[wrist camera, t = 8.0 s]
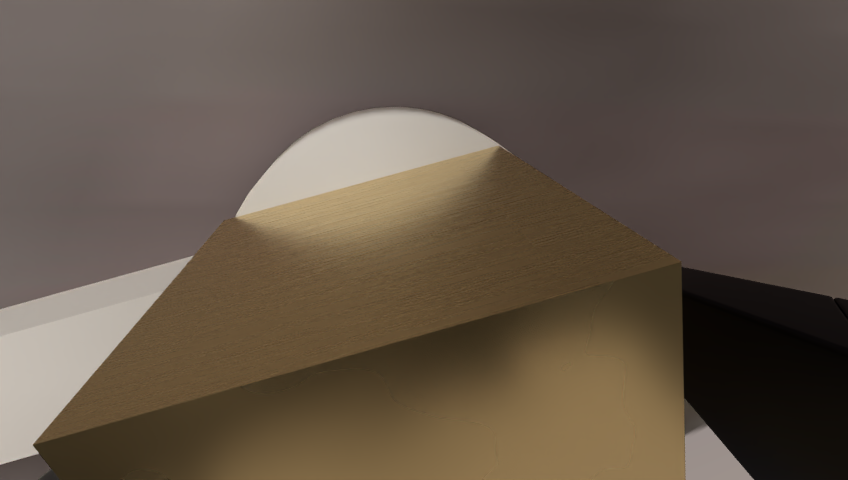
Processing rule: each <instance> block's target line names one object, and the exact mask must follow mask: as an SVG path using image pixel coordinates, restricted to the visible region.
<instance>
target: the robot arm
mask: <svg viewBox="0 0 848 480" xmlns="http://www.w3.org/2000/svg"><path fill="white" fill-rule="evenodd" d="M681 270H682V323H683V376H684V398H685V399H686V400H687V401H688V403H689V404H690V405H691V406H692V407H693V408H694V410H695V411H696V412H697V413H698V414H699V415H700V417H701V418H702V419H703V420H704V421H705V423H706V424H707V425H708V426H709V427H710V428H711V430H712V431H713V432H714V433H715V434H716V435H717V437H718V438H719V439H720V440H721V441H722V443H723V444H724V445H725V446H726V447H727V448H728V450H729V451H730V452H731V453H732V454H733V456H734V457H735V458H736V459H737V460H738V461H739V463H740V464H741V465H742V466H743V467H744V468H745V470H746V471H747V472H748V473H749V474H750V476H751V477H752V478H753V479H754V480H848V300H846V299H841V298H835V299H834V300H833V298H832V297H830V296H825V295H820V294H815V293H810V292H805V291H800V290H795V289H790V288H785V287H780V286H775V285H770V284H765V283H760V282H755V281H750V280H745V279H740V278H735V277H730V276H725V275H720V274H715V273H710V272H704V271H699V270H694V269H689V268H684V267H681ZM38 480H60V479H59V478H58V476H57V475H56V474H55V473H54V471H53V470H52V469H51V470H50V471H48V472H47V473H46V474H44V475H43V476H42V477H40V478H39V479H38Z"/></svg>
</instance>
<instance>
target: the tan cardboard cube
mask: <svg viewBox="0 0 848 480" xmlns="http://www.w3.org/2000/svg"><path fill="white" fill-rule="evenodd" d="M33 446H34V448H35V449H36V450H37V451H38V453H39V454H40V455H41V456H42V458H43V459H44V460H45V461H46V463H47V464H48V465H49V466H50V468H51V469H52V470H53V471H54V473H55V474H56V475H57V476H58V478H59V479H60V480H685V429H684V376H683V323H682V270H681V261H679V260H678V259H676V258H675V257H673V256H672V255H670V254H668V253H667V252H665V251H664V250H662V249H661V248H659V247H657V246H656V245H654V244H653V243H651V242H650V241H648V240H646V239H645V238H643V237H642V236H640V235H639V234H637V233H635V232H634V231H632V230H631V229H629V228H628V227H626V226H624V225H623V224H621V223H620V222H618V221H617V220H615V219H613V218H612V217H610V216H609V215H607V214H606V213H604V212H602V211H601V210H599V209H598V208H596V207H595V206H593V205H591V204H590V203H588V202H587V201H585V200H584V199H582V198H580V197H579V196H577V195H576V194H574V193H573V192H571V191H569V190H568V189H566V188H565V187H563V186H562V185H560V184H558V183H557V182H555V181H554V180H552V179H551V178H549V177H547V176H546V175H544V174H543V173H541V172H540V171H538V170H536V169H535V168H533V167H532V166H530V165H529V164H527V163H525V162H524V161H522V160H521V159H519V158H518V157H516V156H514V155H513V154H511V153H510V152H508V151H507V150H505V149H503V148H502V147H500V146H495V147H491V148H488V149H484V150H480V151H477V152H473V153H469V154H466V155H462V156H458V157H455V158H451V159H447V160H444V161H440V162H436V163H433V164H429V165H425V166H422V167H418V168H414V169H411V170H407V171H403V172H400V173H396V174H392V175H389V176H385V177H381V178H378V179H374V180H370V181H367V182H363V183H359V184H356V185H352V186H348V187H345V188H341V189H337V190H334V191H330V192H326V193H323V194H319V195H315V196H312V197H308V198H304V199H301V200H297V201H293V202H290V203H286V204H282V205H279V206H275V207H272V208H268V209H264V210H261V211H257V212H253V213H250V214H246V215H242V216H239V217H235V218H231V219H228V220H224V221H223V222H222V224H221V225H220V226H219V227H218V228H217V229H216V231H215V232H214V233H213V234H212V235H211V236H210V238H209V239H208V240H207V241H206V242H205V243H204V245H203V246H202V247H201V248H200V249H199V251H198V252H197V253H196V254H195V255H194V256H193V258H192V259H191V260H190V261H189V262H188V263H187V265H186V266H185V267H184V268H183V269H182V270H181V272H180V273H179V274H178V275H177V276H176V277H175V279H174V280H173V281H172V282H171V283H170V284H169V286H168V287H167V288H166V289H165V290H164V292H163V293H162V294H161V295H160V296H159V297H158V299H157V300H156V301H155V302H154V303H153V304H152V306H151V307H150V308H149V309H148V310H147V311H146V313H145V314H144V315H143V316H142V317H141V318H140V320H139V321H138V322H137V323H136V324H135V325H134V327H133V328H132V329H131V330H130V331H129V333H128V334H127V335H126V336H125V337H124V338H123V340H122V341H121V342H120V343H119V344H118V345H117V347H116V348H115V349H114V350H113V351H112V352H111V354H110V355H109V356H108V357H107V358H106V359H105V361H104V362H103V363H102V364H101V365H100V366H99V368H98V369H97V370H96V371H95V372H94V374H93V375H92V376H91V377H90V378H89V379H88V381H87V382H86V383H85V384H84V385H83V386H82V388H81V389H80V390H79V391H78V392H77V393H76V395H75V396H74V397H73V398H72V399H71V400H70V402H69V403H68V404H67V405H66V406H65V407H64V409H63V410H62V411H61V412H60V413H59V414H58V416H57V417H56V418H55V419H54V420H53V422H52V423H51V424H50V425H49V426H48V427H47V429H46V430H45V431H44V432H43V433H42V434H41V436H40V437H39V438H38V439H37V440H36V441H35V443H34V444H33Z"/></svg>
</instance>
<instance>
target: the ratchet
mask: <svg viewBox="0 0 848 480" xmlns="http://www.w3.org/2000/svg"><path fill="white" fill-rule="evenodd" d="M495 146H500V147H502V146H501V145H499V144H498V143H497V142H495V141H494V140H492V139H490V138H489V137H487V136H485V135H484V134H482V133H481V132H479V131H477V130H476V129H474V128H472V127H470V126H468V125H467V124H465V123H463V122H461V121H459V120H457V119H454V118H451V117H449V116H446V115H443V114H441V113H438V112H433V111H428V110H424V109H419V108H409V107H396V106H395V107H379V108H370V109H365V110H360V111H355V112H351V113H348V114H345V115H343V116H340V117H337V118H334V119H331V120H329V121H327V122H325V123H323V124H321V125H319V126H318V127H316V128H314V129H312V130H310V131H309V132H308V133H306V134H305V135H303V136H302V137H300V138H299V139H298V140H296V141H295V142H294V143H293V144H292V145H290V146H289V147H288V148H287V149H286V150H285V151H284V152H283V153H282V154H281V155H280V156H279V157H278V158H277V159H276V161H275V162H274V163H273V164H272V165H271V166H270V168H269V169H268V170H267V171H266V172H265V173H264V175H263V176H262V177H261V178H260V180H259V181H258V182H257V183H256V185H255V186H254V187H253V188H252V190H251V191H250V192H249V194H248V195H247V197H246V199H245V200H244V202H243V204H242V206H241V207H240V209H239V211H238V212H237V214H236V217H239V216H242V215H246V214H250V213H253V212H257V211H261V210H264V209H268V208H272V207H275V206H279V205H282V204H286V203H290V202H293V201H297V200H301V199H304V198H308V197H312V196H315V195H319V194H323V193H326V192H330V191H334V190H337V189H341V188H345V187H348V186H352V185H356V184H359V183H363V182H367V181H370V180H374V179H378V178H381V177H385V176H389V175H392V174H396V173H400V172H403V171H407V170H411V169H414V168H418V167H422V166H425V165H429V164H433V163H436V162H440V161H444V160H447V159H451V158H455V157H458V156H462V155H466V154H469V153H473V152H477V151H480V150H484V149H488V148H491V147H495ZM502 148H503V149H505V148H504V147H502ZM505 150H506V149H505ZM507 151H508V150H507ZM508 152H509V151H508ZM511 154H512V153H511ZM192 258H193V256H191V257H188V258H184V259H180V260H177V261H173V262H170V263H166V264H162V265H159V266H155V267H151V268H148V269H144V270H141V271H137V272H133V273H130V274H126V275H122V276H119V277H115V278H112V279H108V280H104V281H101V282H97V283H94V284H90V285H86V286H83V287H79V288H75V289H72V290H68V291H65V292H61V293H57V294H54V295H50V296H47V297H43V298H39V299H36V300H32V301H28V302H25V303H21V304H18V305H14V306H10V307H7V308H3V309H0V465H1V464H4V463H8V462H11V461H15V460H18V459H22V458H25V457H29V456H32V455H36V454H39V453H38V451H37V450H36V449H35V448H34V446H33V444H34V443H35V441H36V440H37V439H38V438H39V437H40V436H41V434H42V433H43V432H44V431H45V430H46V429H47V427H48V426H49V425H50V424H51V423H52V422H53V420H54V419H55V418H56V417H57V416H58V414H59V413H60V412H61V411H62V410H63V409H64V407H65V406H66V405H67V404H68V403H69V402H70V400H71V399H72V398H73V397H74V396H75V395H76V393H77V392H78V391H79V390H80V389H81V388H82V386H83V385H84V384H85V383H86V382H87V381H88V379H89V378H90V377H91V376H92V375H93V374H94V372H95V371H96V370H97V369H98V368H99V366H100V365H101V364H102V363H103V362H104V361H105V359H106V358H107V357H108V356H109V355H110V354H111V352H112V351H113V350H114V349H115V348H116V347H117V345H118V344H119V343H120V342H121V341H122V340H123V338H124V337H125V336H126V335H127V334H128V333H129V331H130V330H131V329H132V328H133V327H134V325H135V324H136V323H137V322H138V321H139V320H140V318H141V317H142V316H143V315H144V314H145V313H146V311H147V310H148V309H149V308H150V307H151V306H152V304H153V303H154V302H155V301H156V300H157V299H158V297H159V296H160V295H161V294H162V293H163V292H164V290H165V289H166V288H167V287H168V286H169V284H170V283H171V282H172V281H173V280H174V279H175V277H176V276H177V275H178V274H179V273H180V272H181V270H182V269H183V268H184V267H185V266H186V265H187V263H188V262H189V261H190V260H191V259H192Z"/></svg>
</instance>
